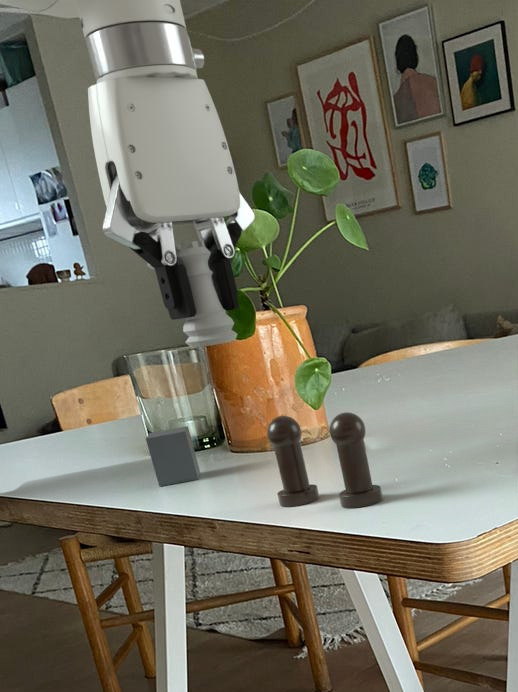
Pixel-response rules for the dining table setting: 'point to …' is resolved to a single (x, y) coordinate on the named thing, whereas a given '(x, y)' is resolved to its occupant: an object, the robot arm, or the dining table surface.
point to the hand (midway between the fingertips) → (204, 311)
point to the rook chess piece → (203, 299)
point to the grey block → (173, 456)
